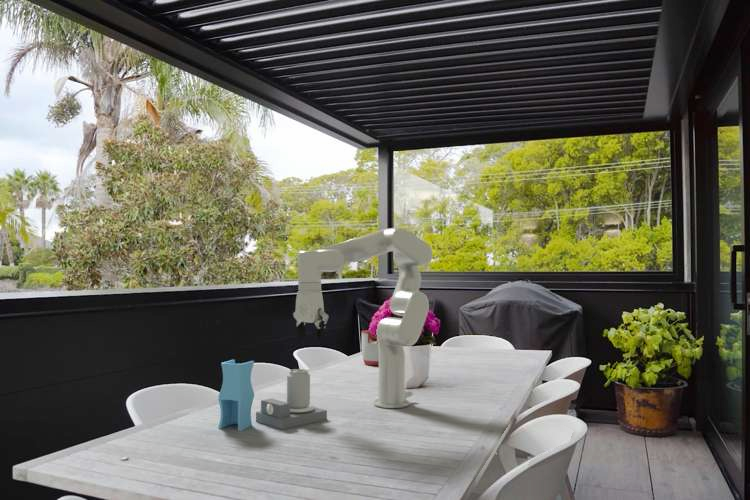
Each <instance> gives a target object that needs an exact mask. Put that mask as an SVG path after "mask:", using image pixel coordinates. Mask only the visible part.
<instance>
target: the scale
mask: <svg viewBox="0 0 750 500" xmlns="http://www.w3.org/2000/svg"><path fill="white" fill-rule="evenodd" d="M327 420H328V410H327V409H324V408H320V407H316V406H315V405H314V404H311V403H310V404H309V405H308V406H307V407H306V408H303V409H292V408H290V403H287V401H284V400H283V401H282V400H279V399H274V398H267V399H261V400H260V411H259V410H258V411H255V422H256V423H260V424H263V425H266V426H270V427H272V428H275V429H279V430H287V429H291V428H295V427H300V426H304V425H305V426H306V425H308V424H309V425H310V424H313V423H318V422H322V421H327Z"/></svg>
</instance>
